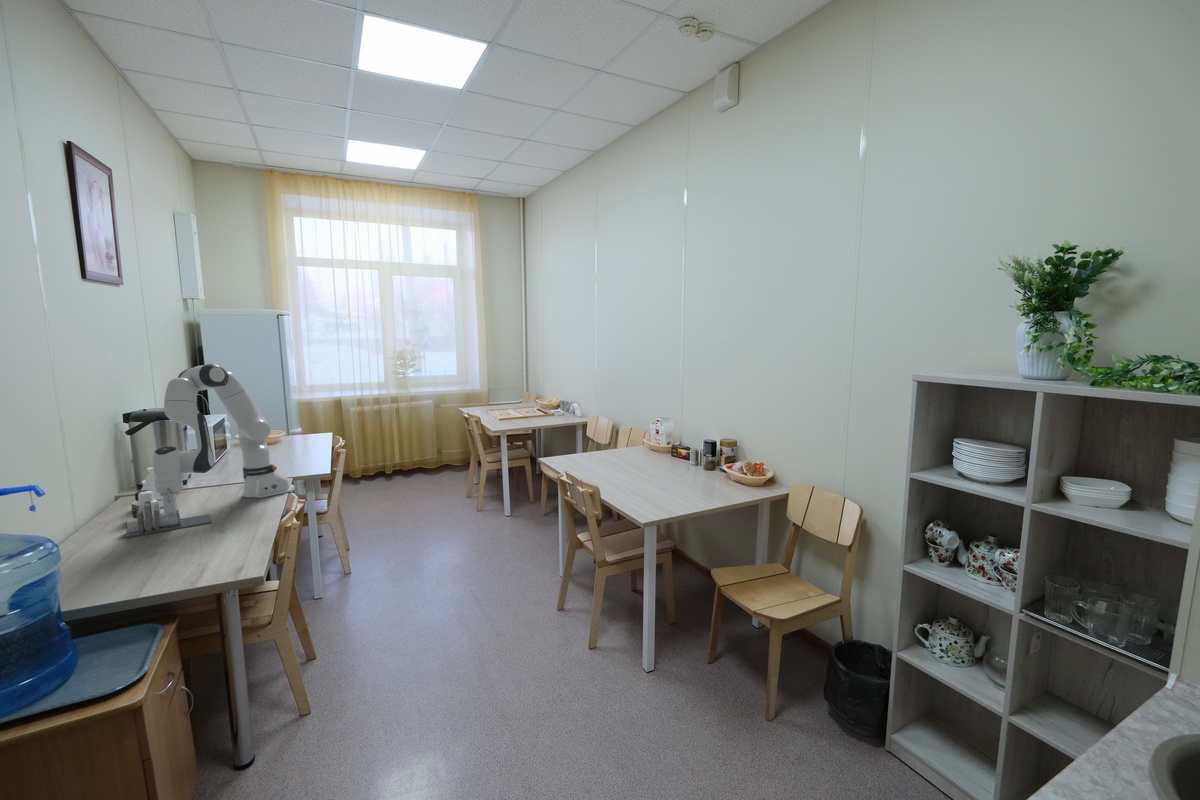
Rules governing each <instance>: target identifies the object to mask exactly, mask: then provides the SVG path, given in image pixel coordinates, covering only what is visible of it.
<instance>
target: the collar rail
mask: <svg viewBox="0 0 1200 800" xmlns="http://www.w3.org/2000/svg"><path fill="white" fill-rule="evenodd" d="M144 512H145V520H146V529H147V530H143V524H142V517H144V514H143V507H139V508H138V512H137V519H138V527H139V531H138V532H133V533H129V532H128V530H127V532H126V535H125V539H129V538H136V537H140V536H146V535H152V534H157V533H163V532H164V533H165V532H169V531H175V530H179V529H185V528H191V527H197V526H202V525H207V524H208V525H209V524H212V523H213V522H212V513H208V514H207V513H206V514H200V515H195V516H190V517H189V516H188V517H184V518H180V523H175V524H170V525H166V526H161V527H159V518H158V514H159V504H158V505H155V506H154V520H155V528H152V523H151V515H152V507H151V500H145V504H144Z"/></svg>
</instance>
